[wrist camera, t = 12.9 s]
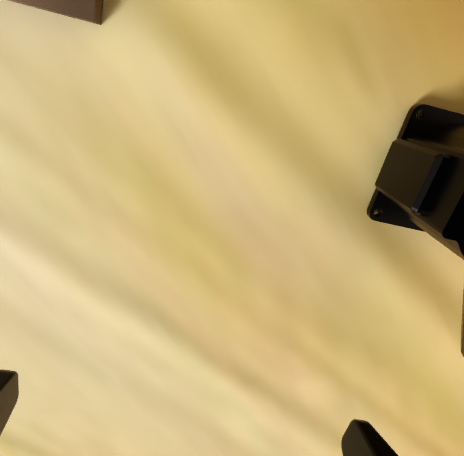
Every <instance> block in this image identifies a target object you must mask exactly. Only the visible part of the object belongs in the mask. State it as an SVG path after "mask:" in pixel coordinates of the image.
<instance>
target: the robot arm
mask: <svg viewBox="0 0 464 456" xmlns="http://www.w3.org/2000/svg"><path fill="white" fill-rule="evenodd" d="M419 110H421V111H422V115H421V117H420V118H418V119H417V118H416V114H417V112H418V111H419ZM375 185H376V189H375V192H374V194H373V196H372V199H371V201H370V204H369V206H368V208H367V215H368V216H369V217H370V218H371V219H372V220H374V221H379V222H383V223H388V224H392V225H397V226H402V227H406V228H411V229H415V230H420V231H425V232H427V233H428V234H429V235H431V236H432V237H433V238H435V239H436V240H437V241H439V242H440V243H441V244H443V245H444V246H446V247H447V248H448V249H450V250H451V251H452V252H454V253H455V254H456V255H458V256H459V257H460V258H462V259H463V260H464V115H463V114H459V113H455V112H451V111H448V110H444V109H440V108H436V107H433V106H429V105H425V104H416V105H414V106H412V107H411V108H410V110H409V111H408V113H407V116H406V118H405V121H404V123H403V125H402V128H401V130H400V132H399V135H398V137H397V139H396V140H395V141H393V142H392V145H391V147H390V149H389V152H388V154H387V157H386V159H385V161H384V164H383V166H382V168H381V171H380V173H379V176H378V178H377V180H376V183H375ZM376 209H380V210H379V212H378V213H377V214H374V211H375V210H376ZM461 353H462V355H463V357H464V290H463V307H462V324H461ZM18 394H19V391H18V374H17V372H15V371H10V370H0V435H1V433H2V431H3V429H4V427H5V425H6V423H7V421H8V419H9V417H10V415H11V413H12V411H13V409H14V407H15V404H16V402H17V399H18ZM341 444H342V452H343V456H398V455H397V454H396V453H395V451H394V450H393V449H392V448H391V447H390V446H389V445H388V443H387V442H386V441H385V440H384V439H383V438H382V437H381V436H380V434H379V433H378V432H377V431H376V430H375V429H374V428H373V426H372V425H371V424H370V423H369V422H367V421H364V420H357V419H354V420H352V421H351V422H350V424H349V426H348V428H347V430H346V431H345V433H344V435H343V437H342V443H341Z"/></svg>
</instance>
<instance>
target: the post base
mask: <svg viewBox="0 0 464 456" xmlns="http://www.w3.org/2000/svg"><path fill="white" fill-rule="evenodd" d="M9 1H13V2H17V3H21V4H24V5H28V6H32V7H36V8H39V9H43V10H47V11H51V12H54V13H58V14H62V15H66V16H69V17H73V18H77V19H81V20H85V21H88V22H92V23H96V24H100V25H101V22H102V7H103V0H9Z"/></svg>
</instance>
